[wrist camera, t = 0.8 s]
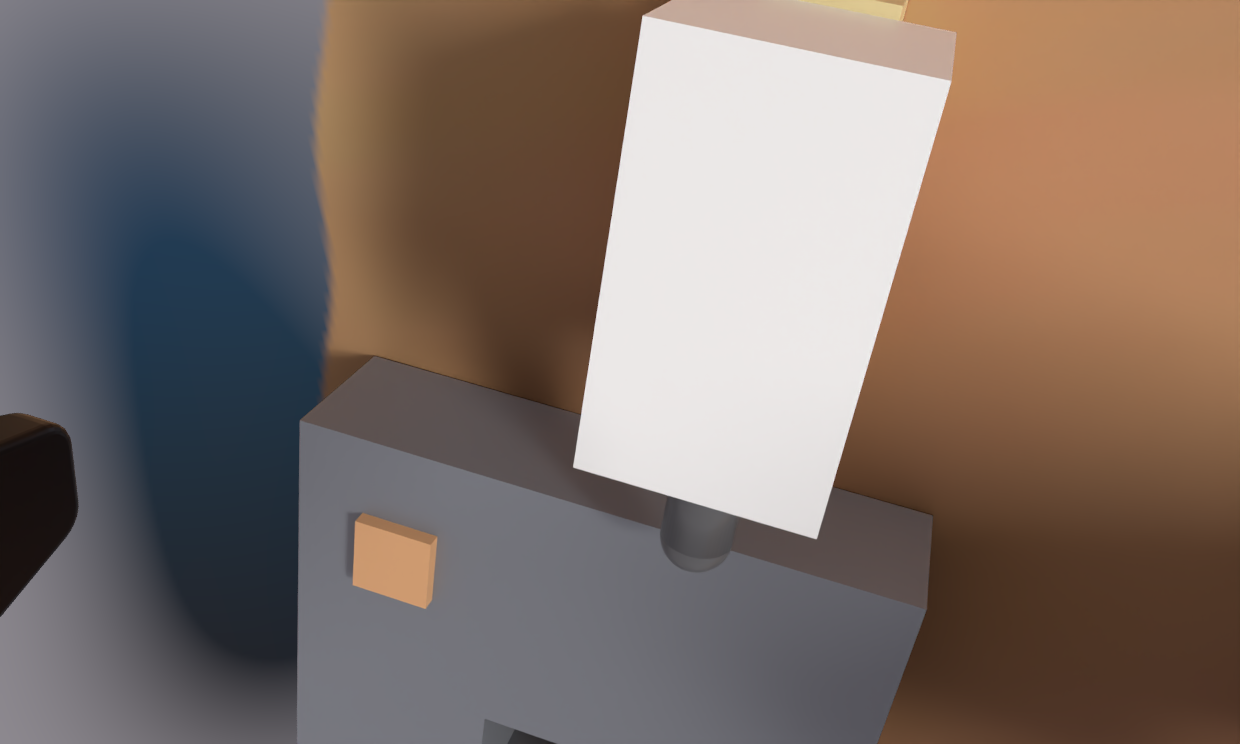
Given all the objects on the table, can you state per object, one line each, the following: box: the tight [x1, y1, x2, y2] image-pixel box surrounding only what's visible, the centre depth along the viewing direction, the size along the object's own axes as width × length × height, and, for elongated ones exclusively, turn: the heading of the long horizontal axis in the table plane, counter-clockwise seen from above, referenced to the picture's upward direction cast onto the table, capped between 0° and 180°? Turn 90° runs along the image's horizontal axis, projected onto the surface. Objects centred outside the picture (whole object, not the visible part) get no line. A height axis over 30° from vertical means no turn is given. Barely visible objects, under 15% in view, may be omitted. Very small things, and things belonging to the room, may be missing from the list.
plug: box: [573, 0, 957, 573], centre depth 17 cm, size 4×9×6 cm, turn 171°
